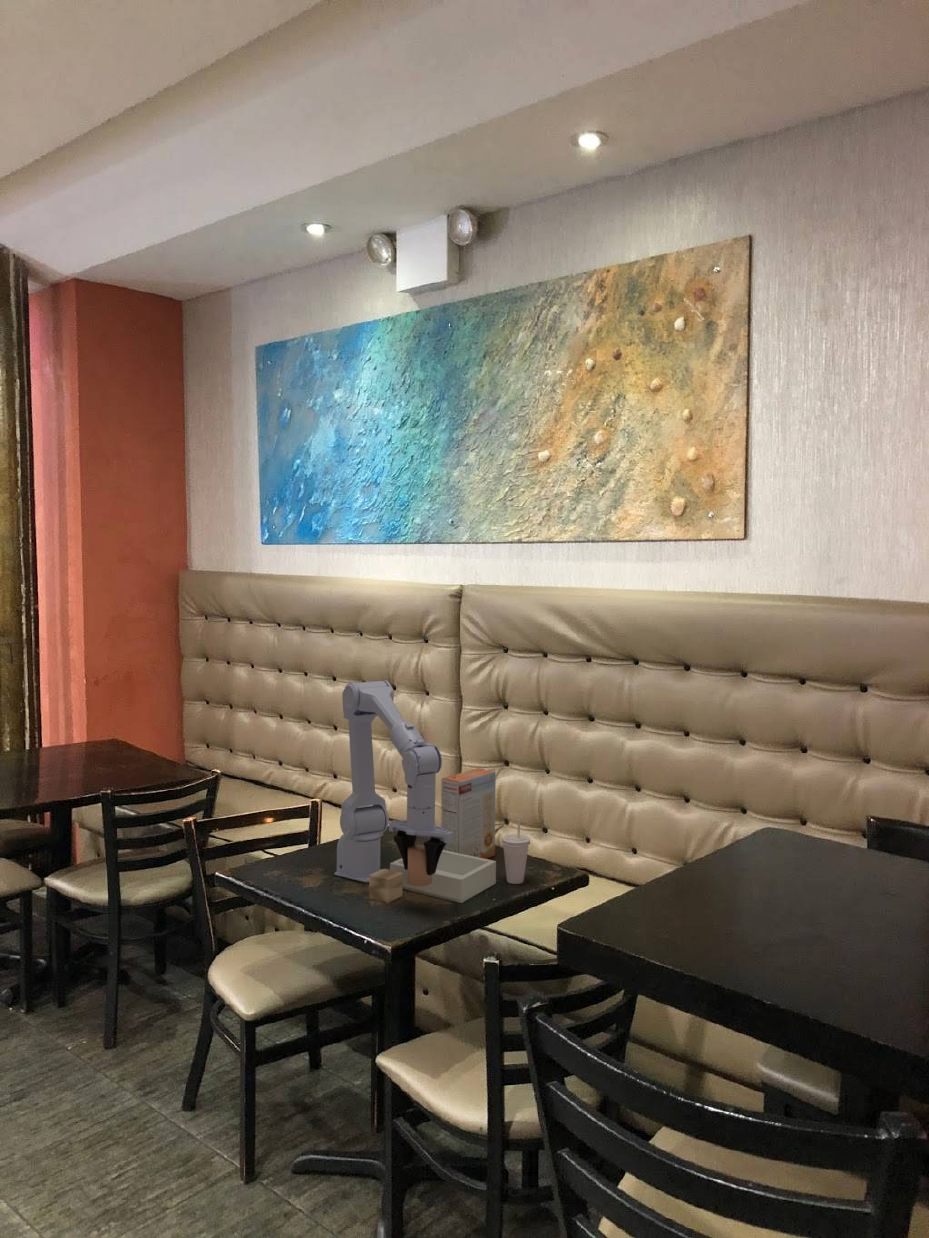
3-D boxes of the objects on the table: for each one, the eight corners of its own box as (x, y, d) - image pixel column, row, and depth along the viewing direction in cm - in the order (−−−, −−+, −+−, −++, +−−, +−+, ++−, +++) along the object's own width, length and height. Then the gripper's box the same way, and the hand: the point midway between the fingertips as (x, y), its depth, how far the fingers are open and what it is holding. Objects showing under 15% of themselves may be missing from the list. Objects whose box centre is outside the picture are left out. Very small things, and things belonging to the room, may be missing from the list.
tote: (389, 885, 208) (390, 863, 208) (426, 867, 220) (426, 846, 220) (461, 903, 198) (461, 879, 198) (495, 883, 211) (496, 861, 210)
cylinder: (402, 883, 193) (402, 849, 193) (416, 876, 198) (416, 843, 197) (423, 887, 191) (423, 853, 190) (436, 880, 195) (437, 847, 194)
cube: (369, 898, 201) (369, 875, 200) (383, 891, 205) (383, 868, 205) (388, 903, 198) (388, 879, 198) (402, 896, 202) (402, 873, 202)
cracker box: (476, 851, 233) (477, 766, 232) (495, 856, 229) (497, 770, 228) (439, 865, 222) (440, 776, 221) (459, 870, 219) (460, 781, 217)
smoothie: (527, 887, 209) (528, 824, 208) (498, 884, 210) (499, 822, 209) (531, 877, 215) (532, 816, 214) (503, 875, 216) (504, 814, 215)
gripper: (380, 804, 193) (379, 869, 194) (440, 815, 186) (438, 883, 187) (400, 796, 199) (399, 860, 200) (459, 807, 192) (458, 873, 193)
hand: (419, 870), depth 194 cm, fingers closed on cylinder, 5 cm apart
